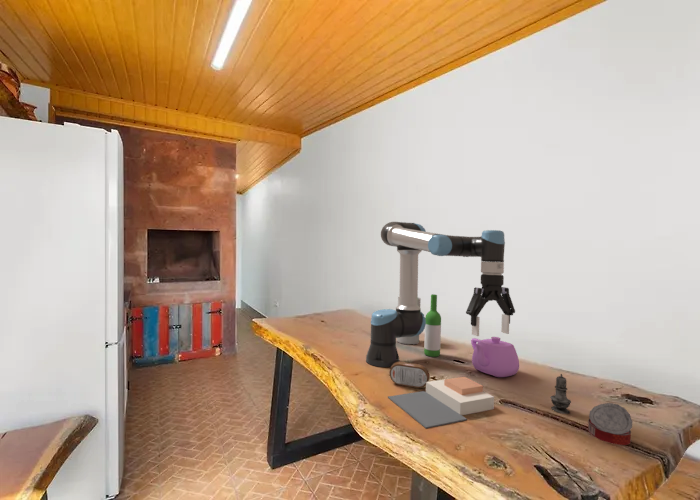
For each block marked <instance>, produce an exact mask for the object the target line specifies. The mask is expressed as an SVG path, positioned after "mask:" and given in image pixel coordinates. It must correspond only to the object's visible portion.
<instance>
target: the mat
mask: <svg viewBox="0 0 700 500" xmlns="http://www.w3.org/2000/svg"><path fill="white" fill-rule="evenodd" d="M387 399H389V400H390V402H391V401H392V402H393V403H394V404H395V405H396V406H398V407H399V408H400V409H401V410H403V412H404V413H406V414H407V415H408V416H410V417H411V418H412V419H414V421H416V422H417V423H419V425H421V427H424V428H425V429H431V428H435V427H440V426H445V425H450V424H456V423H458V422H464V421H467V420H468V419H467V418H466V417H465V416H464V415H460V414H459V413H457V412H456V411H454V410H453V409H451V408H449V407H448V406H446V405H445V404H443V403H442V402H440V401H439V400H437V399H436V398H434V397H433V396H431V395H430V394H428V393H426V390H422V391H415V392H410V393H402V394H396V395H389V396H387Z"/></svg>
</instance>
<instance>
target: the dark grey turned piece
mask: <svg viewBox="0 0 700 500" xmlns="http://www.w3.org/2000/svg"><path fill="white" fill-rule="evenodd" d="M555 380H556V381H555V386H554V388H555V394H554V395H551V396H550V399H551V404H553V405H552V406H551V410H552V411H553V410H554V412H555V411H556V412H555V413H559V414H562V415H568V414H570V413H571V411H570V410H569V409H568V408H569V407H570V405H571V404H572V401H571V399H570V398H567V397H568V396H567V391H568V388H567V378H566V377H564V376H563V374H562V373H561V374H560V376H556V378H555Z"/></svg>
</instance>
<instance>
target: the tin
mask: <svg viewBox="0 0 700 500" xmlns="http://www.w3.org/2000/svg"><path fill="white" fill-rule="evenodd" d="M389 378H390V379H391V380H392V382H393V383H394V384H396V385H399V386H405V387H409V388H414V389H415V388H416V389H423V388H426V382H430V378H431V377H430V372H429V369H428V368H427V367H426V366H424V365H422V364H419V363H418V364H417V363H412V362H411V363H410V362H407V361H405V362H404V361H399V362H396V363H394V364H393V365H392V366H391V367H390V370H389Z"/></svg>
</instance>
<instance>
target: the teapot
mask: <svg viewBox="0 0 700 500" xmlns="http://www.w3.org/2000/svg"><path fill="white" fill-rule="evenodd" d="M470 342H471V343H470V344H471V346H472V349H473V352H472V356H471V363H472V366H473V368H474V369H475V370H477V371H479V372H481V373H485V374H487V375H491V376H493V377H495V378H507V377H512V376H514V375H516V374H517V373H518V371H519V370H520V361H519V357H518V354H517V350H516V348H515V346H514V344H513V343H510V342H507V341H503V340H501V337H499V336H491V338H486V339H479V338H475V337H474V338H471V339H470Z"/></svg>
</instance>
